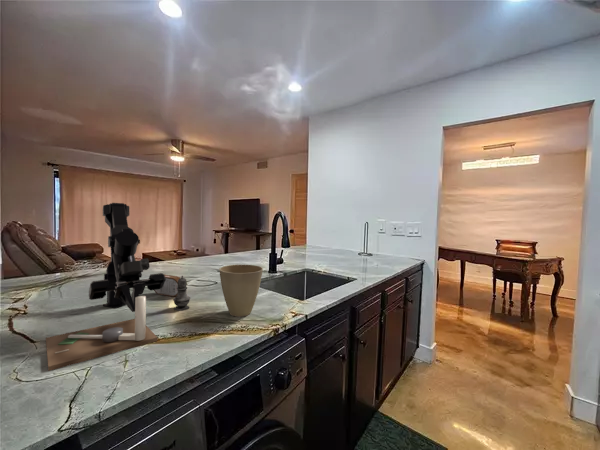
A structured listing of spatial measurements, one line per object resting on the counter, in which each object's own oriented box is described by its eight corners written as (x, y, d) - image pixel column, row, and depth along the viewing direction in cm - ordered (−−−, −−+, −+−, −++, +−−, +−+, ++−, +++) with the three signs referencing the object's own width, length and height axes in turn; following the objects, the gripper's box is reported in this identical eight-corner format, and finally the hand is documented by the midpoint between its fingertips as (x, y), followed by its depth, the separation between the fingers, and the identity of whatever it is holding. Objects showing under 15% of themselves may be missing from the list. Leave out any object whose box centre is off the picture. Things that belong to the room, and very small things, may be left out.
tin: (184, 296, 112) (185, 276, 112) (179, 298, 109) (179, 278, 109) (156, 292, 117) (157, 272, 117) (150, 294, 114) (150, 274, 114)
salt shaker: (183, 311, 95) (184, 277, 94) (169, 310, 96) (169, 276, 96) (193, 306, 100) (194, 274, 100) (179, 304, 102) (180, 273, 101)
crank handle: (149, 335, 73) (149, 294, 73) (140, 342, 69) (140, 299, 68) (76, 334, 72) (76, 293, 72) (62, 341, 68) (62, 298, 68)
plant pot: (210, 312, 95) (211, 267, 94) (245, 303, 106) (246, 263, 105) (234, 325, 85) (235, 274, 84) (270, 313, 96) (271, 269, 95)
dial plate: (138, 320, 86) (139, 317, 86) (157, 340, 73) (157, 336, 73) (45, 341, 70) (45, 336, 70) (48, 371, 58) (48, 365, 58)
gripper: (90, 252, 73) (97, 303, 65) (164, 247, 86) (176, 290, 78) (86, 275, 79) (91, 324, 71) (155, 268, 92) (166, 309, 84)
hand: (134, 311), depth 76 cm, fingers closed
